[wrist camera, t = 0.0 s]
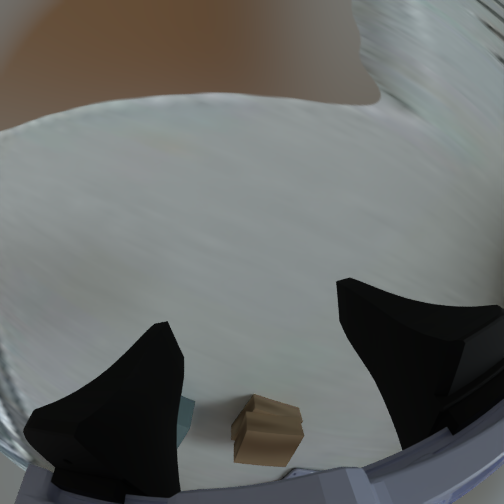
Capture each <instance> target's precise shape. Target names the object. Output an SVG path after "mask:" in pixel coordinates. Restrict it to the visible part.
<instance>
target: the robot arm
mask: <svg viewBox="0 0 504 504" xmlns="http://www.w3.org/2000/svg"><path fill="white" fill-rule="evenodd" d="M336 285H337V296H338V307H339V321H340V323H341V325H342V328H343V330H344V332H345V334H346V336H347V338H348V340H349V342H350V343H351V345H352V346H353V348H354V349H355V351H356V352H357V354H358V355H359V357H360V358H361V360H362V361H363V363H364V364H365V366H366V367H367V369H368V371H369V372H370V374H371V375H372V377H373V379H374V381H375V382H376V384H377V387H378V389H379V391H380V393H381V395H382V397H383V399H384V402H385V404H386V406H387V409H388V411H389V414H390V416H391V419H392V421H393V424H394V427H395V429H396V432H397V435H398V438H399V441H400V444H401V447H402V451H400V452H398V453H396V454H394V455H391V456H389V457H387V458H385V459H382V460H380V461H377V462H375V463H372V464H370V465H367V466H365V467H362V468H358V467H338V468H333V469H328V470H323V471H314V470H306V469H299V468H296V469H293V470H292V471H291V472H290V473H289V474H288V475H287V476H286V477H284V478H283V479H282V480H278V481H273V482H267V483H261V484H254V485H247V486H238V487H228V488H215V489H198V490H190V491H181V490H180V483H179V473H178V462H177V419H178V412H179V406H180V399H181V393H182V386H183V380H184V356H183V354H182V352H181V350H180V348H179V345H178V343H177V341H176V339H175V337H174V334H173V332H172V330H171V328H170V325H169V323H168V321H166V322H161V323H156V324H154V325H153V326H151V327H150V328H149V329H148V330H147V331H146V332H145V333H144V334H143V335H142V336H141V337H140V338H139V339H138V340H137V341H136V342H135V344H134V345H133V346H132V347H131V348H130V349H129V350H128V351H127V352H126V353H125V354H124V355H122V356H121V357H120V358H119V359H118V360H117V361H116V362H115V363H114V364H113V365H112V366H111V367H110V368H108V369H107V370H106V371H105V372H103V373H102V374H101V375H100V376H98V377H97V378H96V379H94V380H93V381H91V382H90V383H88V384H87V385H85V386H84V387H82V388H80V389H79V390H77V391H76V392H74V393H72V394H70V395H68V396H66V397H64V398H62V399H60V400H58V401H56V402H53V403H51V404H48V405H46V406H43V407H40V408H37V409H35V410H34V411H33V412H32V414H31V416H30V418H29V420H28V422H27V424H26V426H25V427H24V431H23V433H24V435H25V438H26V439H27V441H28V442H29V444H30V445H31V446H32V447H33V448H34V449H35V450H36V451H37V452H38V453H40V454H41V455H42V456H43V457H44V458H45V459H46V460H47V461H49V462H50V463H51V464H52V465H53V466H54V467H55V470H54V473H53V472H51V471H49V470H47V469H45V468H41V467H38V466H35V465H32V464H29V465H28V468H27V470H26V473H25V476H24V478H23V481H22V484H21V487H20V489H19V492H18V495H17V498H16V501H15V504H452V503H453V502H455V501H456V500H458V499H459V498H461V497H462V496H463V495H465V494H466V493H468V492H469V491H470V490H472V489H473V488H474V487H476V486H477V485H478V484H480V483H481V482H482V481H484V480H485V479H486V478H487V477H488V476H490V475H491V474H492V473H493V472H495V471H496V470H497V469H498V468H499V467H500V466H501V465H503V464H504V309H502V308H501V307H500V306H498V305H489V306H477V307H457V306H445V305H436V304H430V303H424V302H420V301H415V300H411V299H407V298H404V297H401V296H398V295H395V294H392V293H389V292H386V291H383V290H381V289H378V288H376V287H373V286H371V285H368V284H366V283H363V282H361V281H358V280H355V279H352V278H346V279H343V280H339V281H336Z"/></svg>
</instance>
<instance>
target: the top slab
mask: <svg viewBox="0 0 504 504" xmlns="http://www.w3.org/2000/svg"><path fill="white" fill-rule="evenodd" d="M303 437H304V433H303V429H302V425H301V422H300V418H298V417H287V416H277V415H269V414H261V413H254V412H248V411H246V413H245V416H244V419H243V421H242V424H241V427H240V429H239V432H238V435H237V437H236V440H235V442H234V462H235V463H242V464H252V465H262V466H277V467H286V465H287V464H288V462H289V461H290V459H291V457H292V456H293V454H294V452H295V451H296V449H297V447H298V446H299V444H300V442H301V441H302V439H303Z"/></svg>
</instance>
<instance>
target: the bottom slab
mask: <svg viewBox="0 0 504 504" xmlns="http://www.w3.org/2000/svg"><path fill="white" fill-rule="evenodd" d="M246 411H248V412H254V413H261V414H269V415H277V416H287V417H298V418H300V422H301V423H302V422H303V420H302V417H301V413H300V410H299V408H298V407H294V406H291V405H288V404H284V403H281V402H278V401H274V400H271V399H268V398H265V397H262V396H259V395H256V394H254V395H253V396H252V397H251V399H250V400H249V402H248V403H247V405H246V406H245V407H244V409H243V410H242V412H241V413H240V414H239V416H238V417H237V419H236V420H235V421H234V423H233V424H232V426H231V440H234V441H235V440H236V437H237V435H238V432H239V429H240V427H241V424H242V421H243V419H244V416H245V413H246Z"/></svg>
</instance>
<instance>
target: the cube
mask: <svg viewBox="0 0 504 504" xmlns="http://www.w3.org/2000/svg"><path fill="white" fill-rule="evenodd" d="M194 404H195V401H193V400H190V399H188V398H185V397H183V396H181V399H180V406H179V412H178V419H177V448H178V447H179V445H180V443H181V442H182V440H183V439H184V437H185V435H186V434H187V432H188V431H189V429H190V425H191V419H192V414H193V409H194Z"/></svg>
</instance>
